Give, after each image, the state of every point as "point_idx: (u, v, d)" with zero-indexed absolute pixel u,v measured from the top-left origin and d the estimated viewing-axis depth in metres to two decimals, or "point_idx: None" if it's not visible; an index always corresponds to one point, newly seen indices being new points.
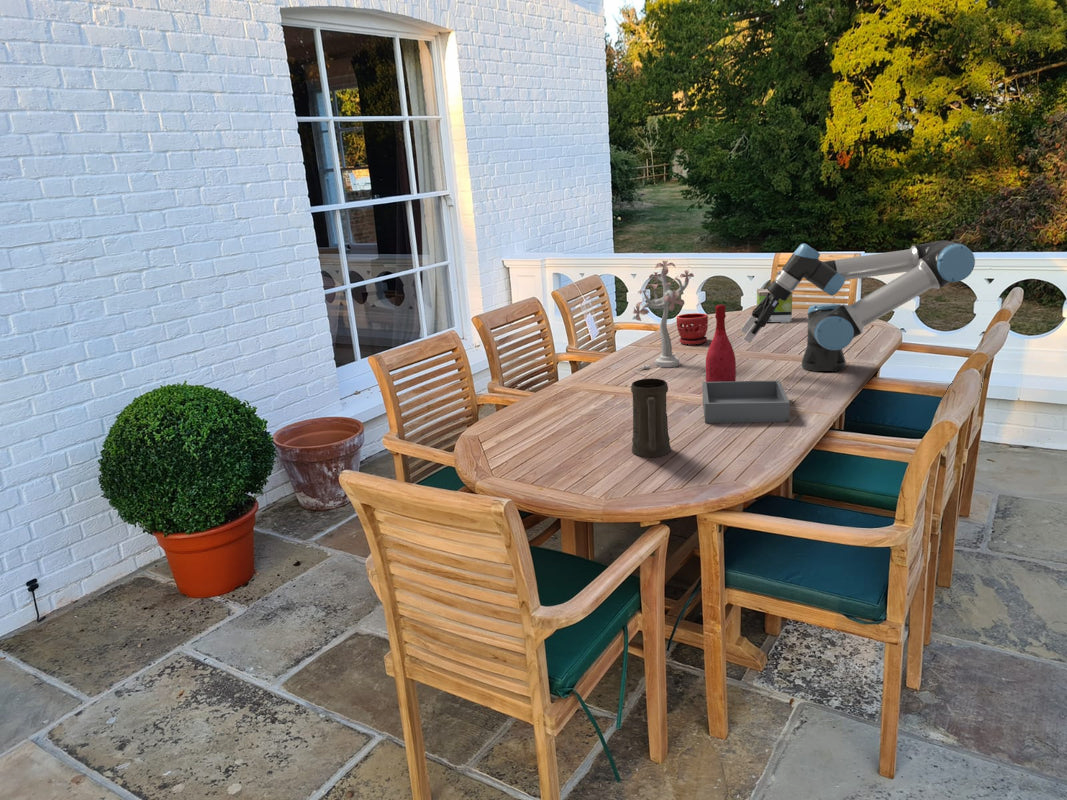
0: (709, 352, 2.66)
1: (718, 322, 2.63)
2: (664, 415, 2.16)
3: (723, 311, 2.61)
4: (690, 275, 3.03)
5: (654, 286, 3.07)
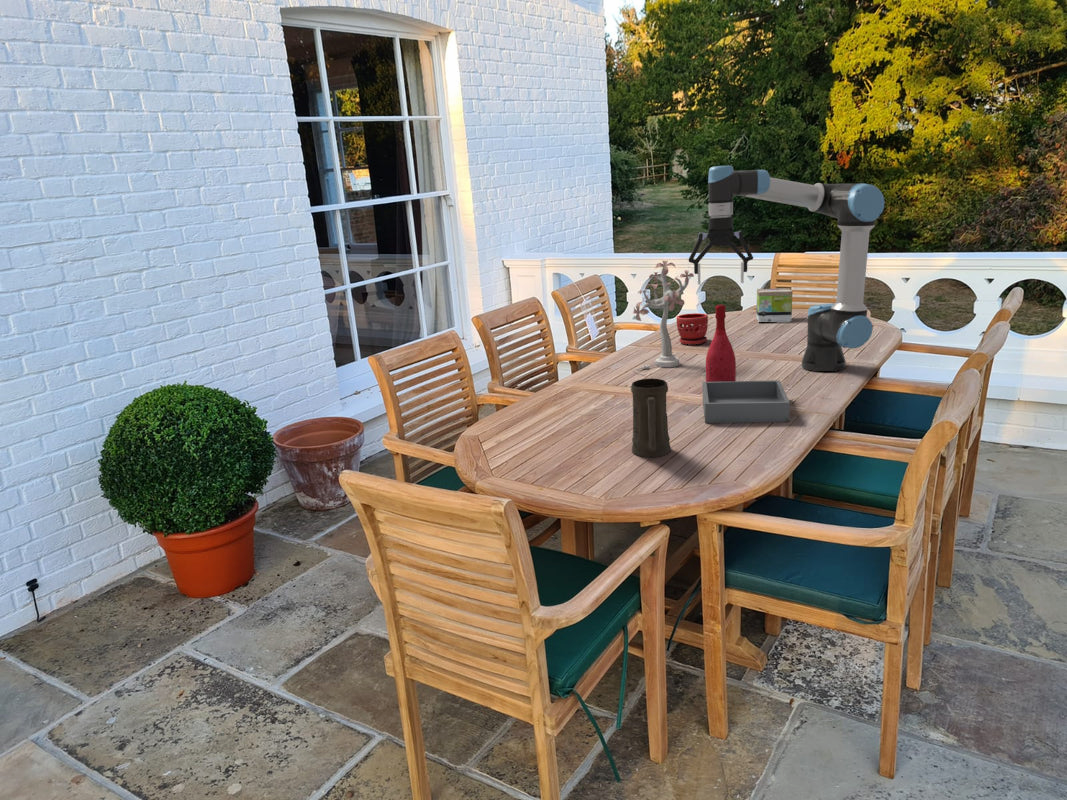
0: (709, 352, 2.66)
1: (718, 322, 2.63)
2: (664, 415, 2.16)
3: (723, 311, 2.61)
4: (690, 275, 3.03)
5: (654, 286, 3.07)
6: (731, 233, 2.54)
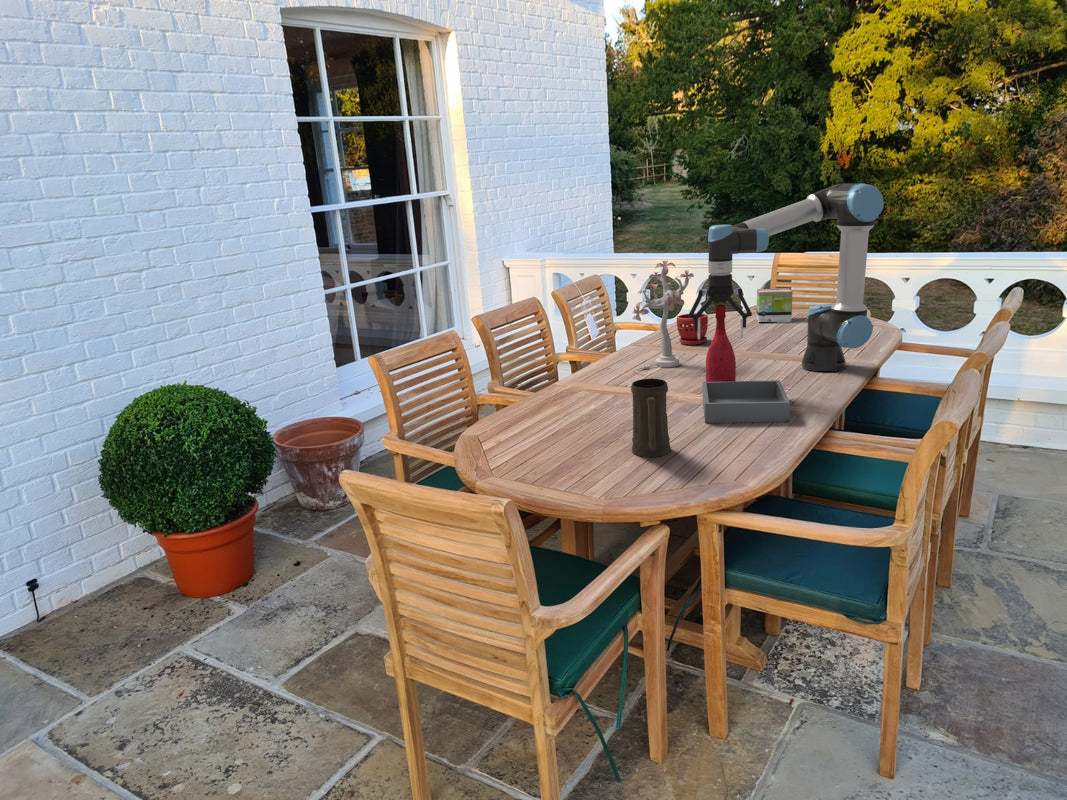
0: (709, 352, 2.66)
1: (718, 322, 2.63)
2: (664, 415, 2.16)
3: (723, 311, 2.61)
4: (690, 275, 3.03)
5: (654, 286, 3.07)
6: (730, 290, 2.59)
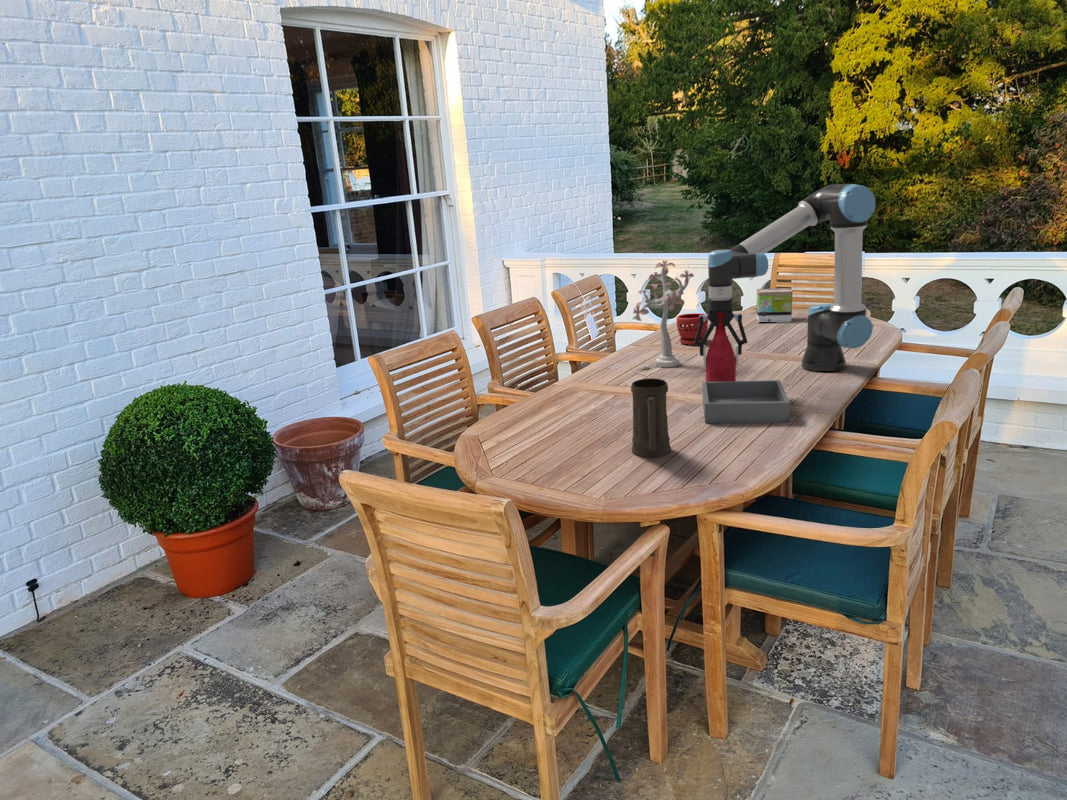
0: (709, 352, 2.66)
1: (718, 322, 2.63)
2: (664, 415, 2.16)
3: None
4: (690, 275, 3.03)
5: (654, 286, 3.07)
6: (731, 315, 2.62)
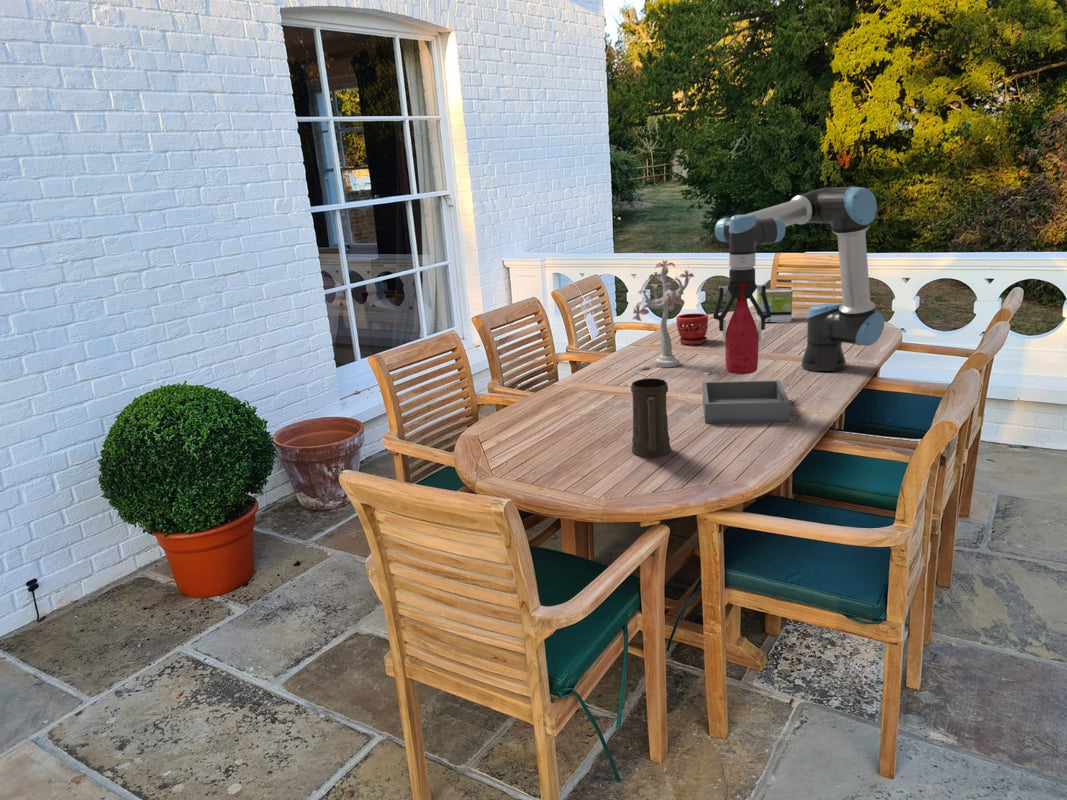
0: (729, 327, 2.44)
1: (740, 294, 2.41)
2: (664, 415, 2.16)
3: (745, 282, 2.39)
4: (690, 275, 3.03)
5: (654, 286, 3.07)
6: (754, 286, 2.39)
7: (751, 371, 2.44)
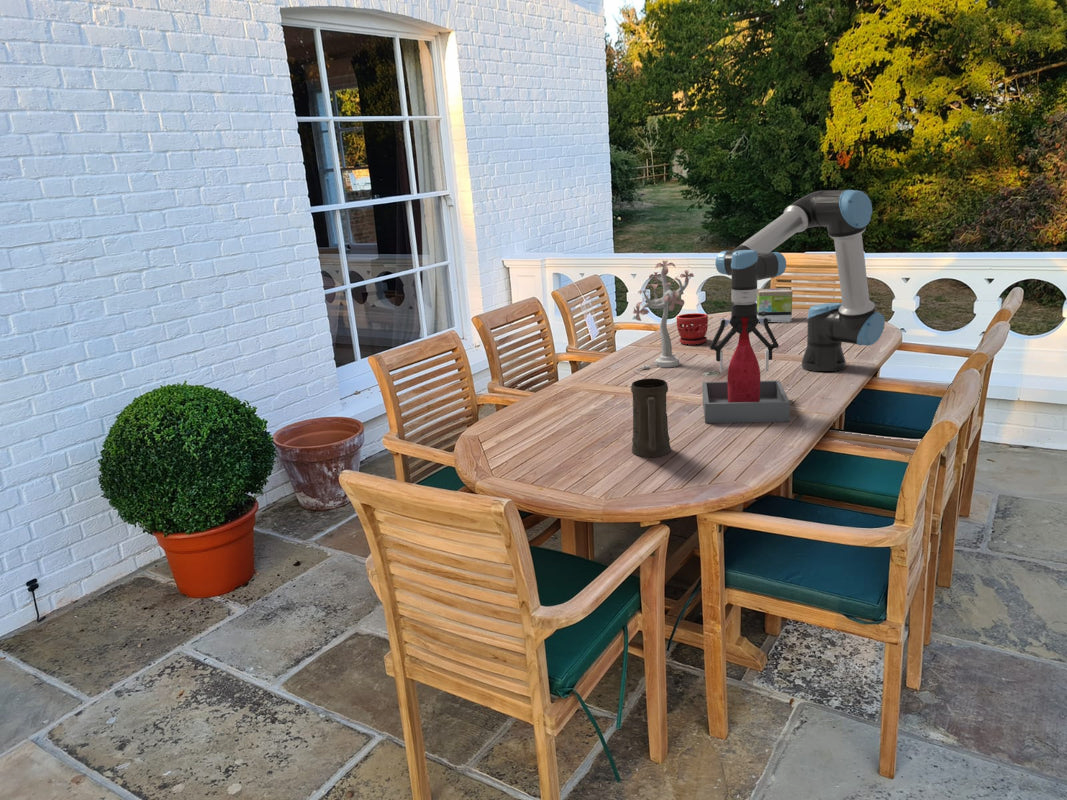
0: (732, 363, 2.45)
1: None
2: (664, 415, 2.16)
3: (747, 319, 2.41)
4: (690, 275, 3.03)
5: (654, 286, 3.07)
6: (755, 320, 2.41)
7: None
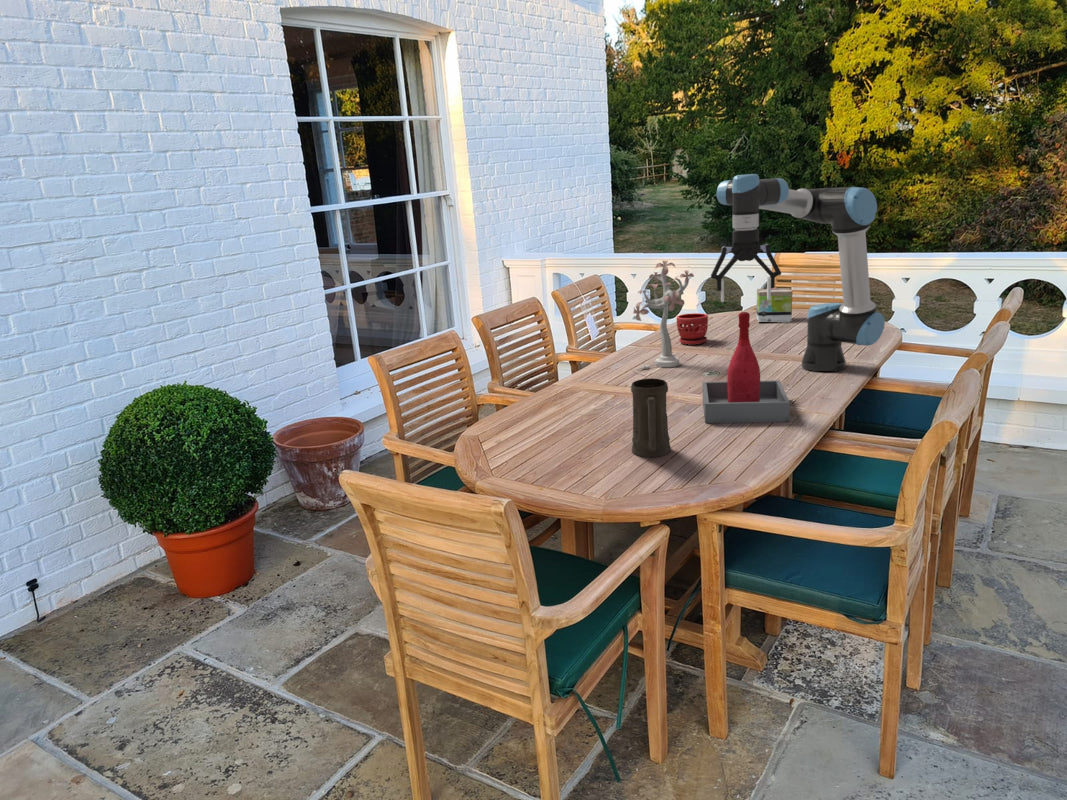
0: (731, 364, 2.45)
1: (742, 331, 2.43)
2: (664, 415, 2.16)
3: (747, 319, 2.41)
4: (690, 275, 3.03)
5: (654, 286, 3.07)
6: (757, 247, 2.36)
7: None
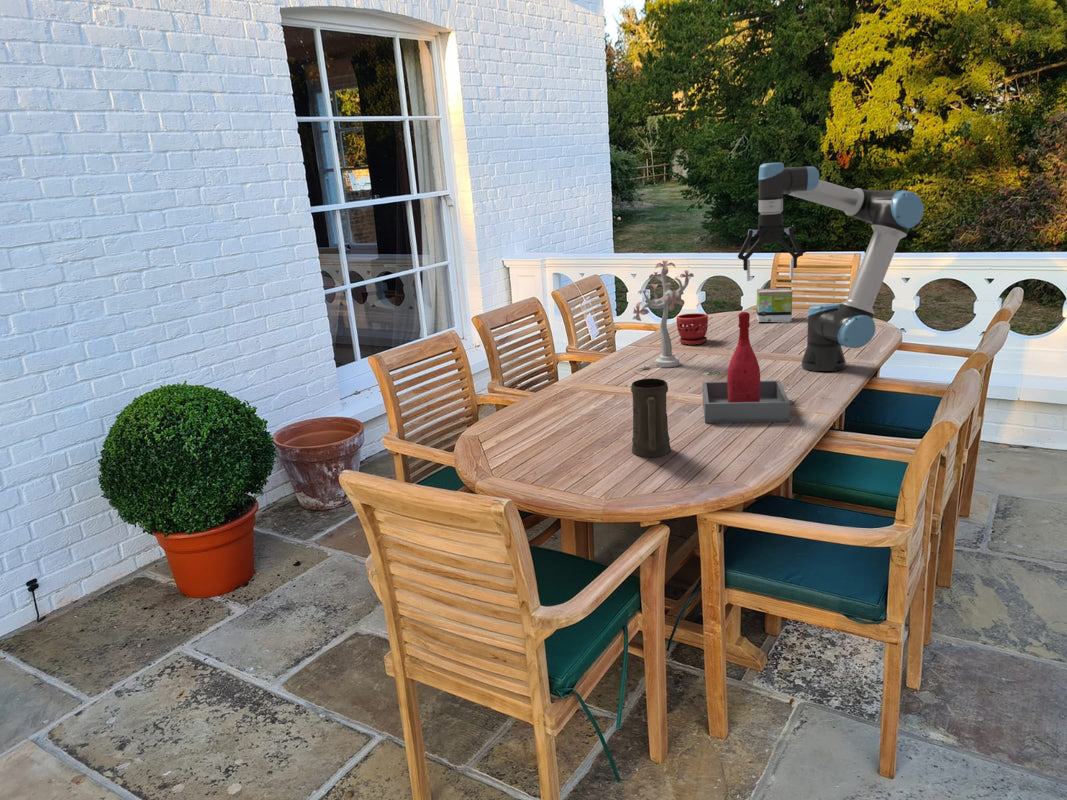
0: (731, 364, 2.45)
1: (742, 331, 2.43)
2: (664, 415, 2.16)
3: (747, 319, 2.41)
4: (690, 275, 3.03)
5: (654, 286, 3.07)
6: (781, 229, 2.56)
7: None
